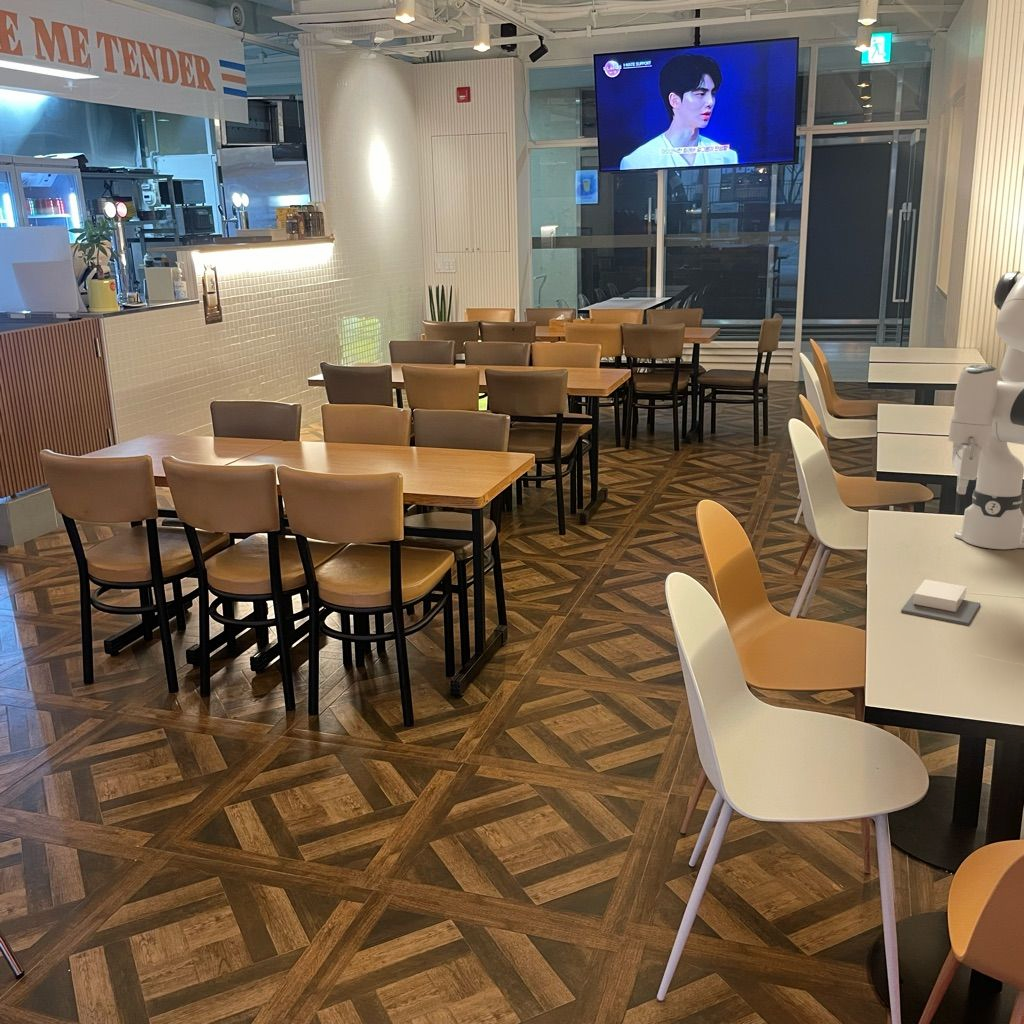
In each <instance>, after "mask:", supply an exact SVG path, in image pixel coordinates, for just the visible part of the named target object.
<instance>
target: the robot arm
mask: <svg viewBox="0 0 1024 1024" xmlns="http://www.w3.org/2000/svg"><path fill="white" fill-rule="evenodd" d="M993 303H994V306H995V307H996V308H997V309H998V310H1000V311H999V313H998V315H997V318H996V319H997V320H996V325H995V326H996V328H995V329H996V332H997V334H998V336H999V338H1000V339H1001V340H1002V341H1003V342H1004V344H1005V345H1007V346H1006V350H1005V353H1004V356H1003V360H1002V363H1001V365H1000V368H999V369H1000V370H999V375H1000V378H1001V380H999V378H998V369H997V368H996V367H995V366H991V365H987V364H985V365H984V364H973V365H967V366H965V367H963V368H962V369H961V371H960V374H959V378H958V380H957V384H956V388H955V393H954V398H953V399H954V400H953V407H954V411H953V415H952V417H951V419H950V425H949V433H948V439H947V440H948V441H949V442H951V443H952V456H951V457H952V460H951V461H952V462H951V463H952V468H953V470H954V471H955V473H956V474H957V475H956V477H957V480H956V482H957V483H956V492H957V494H958V495H966V493H967V489H968V488H967V487H968V485H969V482H970V480H971V481H976V483H975V488H974V489H973V491H972V492H973V493H972V498H971V499H972V500H971V503H972V504H970V505H969V506H967V507H966V508H965V509H964V514H963V519H962V526H961V529H959V530H958V531H955V532H954V535H953V536H954V537H955V538H957V539H960V540H962V541H964V542H965V543H968V544H970V545H972V546H977V547H980V548H985V549H986V548H987V549H992V550H993V549H994V550H1012V549H1013V550H1014V549H1024V514H1023V513H1022V511H1021V507H1022V503H1023V494H1022V487H1023V483H1024V482H1023V480H1024V464H1023V462H1022V461H1021V460H1020V459H1019V458H1018V457H1017V456H1015V455H1014V454H1013V453H1012V452H1011V450H1010V448H1009V445H1008V443H1011V444H1016V445H1022V446H1024V272H1021V271H1020V270H1019V271H1018V270H1016V271H1008V272H1006V273H1004V274H1003V275H1001V276H1000V278H999V279H998V281H997V283H996V285H995V287H994V290H993Z"/></svg>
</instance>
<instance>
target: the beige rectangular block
mask: <svg viewBox="0 0 1024 1024" xmlns="http://www.w3.org/2000/svg"><path fill="white" fill-rule="evenodd" d="M915 591H916V592H915ZM915 591H914V593H913V594H914V600H913V604H916V605H920V606H925V607H930V608H936V609H941V610H946V611H951V612H956V610H957V609H958V607H959V606H960V604H961V603H962V601H963V600H965V598H966V592H967V586H965V585H960V584H953V583H949V582H948V583H947V582H942V581H936V580H931V579H926V578H925V579H924V580H923V581H922V583H921V584H920V585H919V587H917V589H916V590H915Z"/></svg>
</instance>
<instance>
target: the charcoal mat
mask: <svg viewBox="0 0 1024 1024" xmlns="http://www.w3.org/2000/svg"><path fill="white" fill-rule="evenodd" d="M915 592H916V590H915V591H914V593H915ZM914 593H913V594H912V595H911V597H910V598H909V599H908V601H906V603H905V604H904V605H903V607H902V608H901V610H900V613H902V614H903V613H904V614H908V615H913V616H918V617H925V618H928V619H935V620H940V621H945V622H949V623H953V624H959V625H964V626H969V625H970V623H971V622H972V620H973V618H974V616H975V615H976V613H977V612H978V610H979V608H980V606H981V602H977V601H972V600H967V599H963V601H962V603H961V604H960V606H959V607H958V609H957V610H956V612H951V611H946V610H941V609H936V608H930V607H925V606H920V605H916V604H913V600H914Z"/></svg>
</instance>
